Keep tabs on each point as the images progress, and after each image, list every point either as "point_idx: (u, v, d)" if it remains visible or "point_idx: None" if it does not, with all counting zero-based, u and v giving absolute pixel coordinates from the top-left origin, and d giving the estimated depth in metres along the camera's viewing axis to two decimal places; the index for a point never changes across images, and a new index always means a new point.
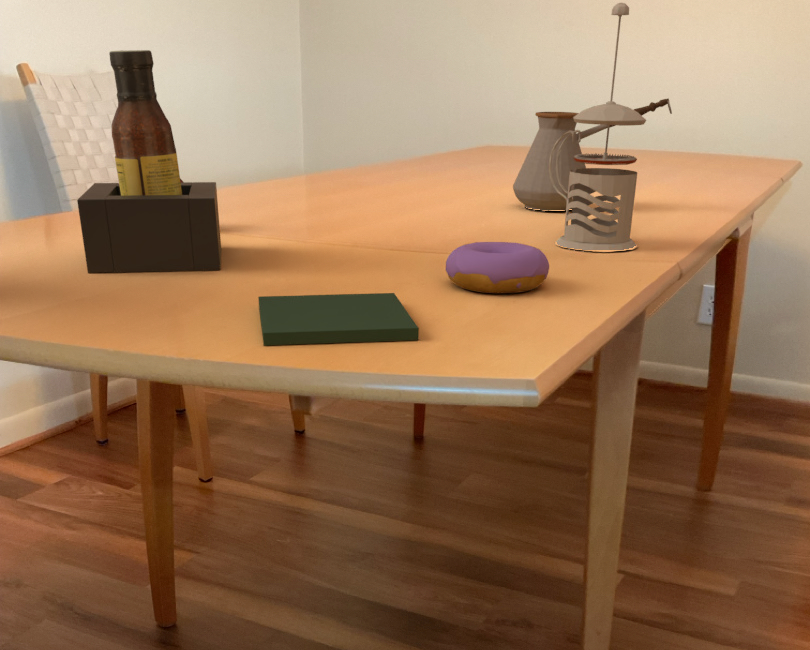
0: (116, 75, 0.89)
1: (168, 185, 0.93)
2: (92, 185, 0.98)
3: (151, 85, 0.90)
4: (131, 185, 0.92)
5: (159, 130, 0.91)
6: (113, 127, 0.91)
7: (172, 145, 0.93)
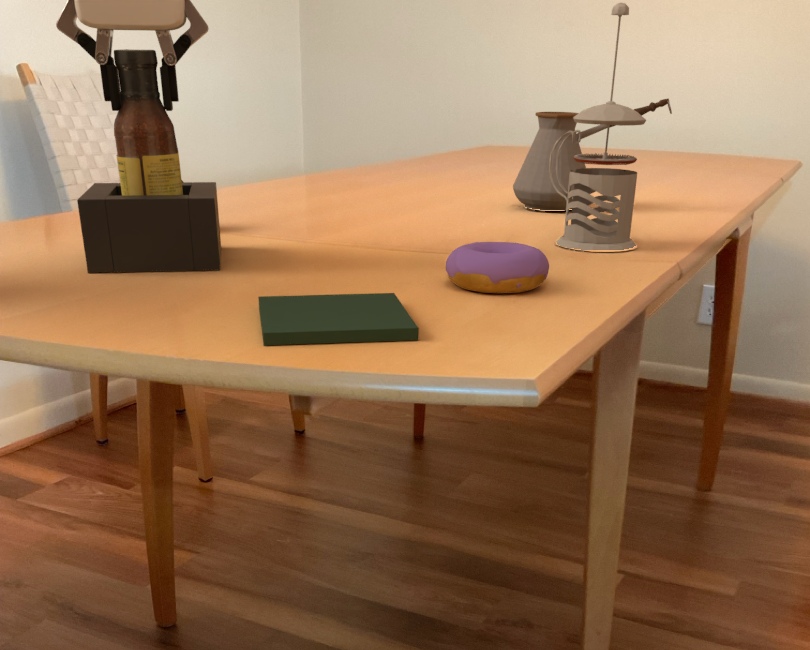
0: (120, 74, 0.89)
1: (169, 184, 0.93)
2: (92, 185, 0.98)
3: (155, 85, 0.90)
4: (132, 183, 0.92)
5: (161, 130, 0.91)
6: (116, 125, 0.91)
7: (174, 145, 0.93)
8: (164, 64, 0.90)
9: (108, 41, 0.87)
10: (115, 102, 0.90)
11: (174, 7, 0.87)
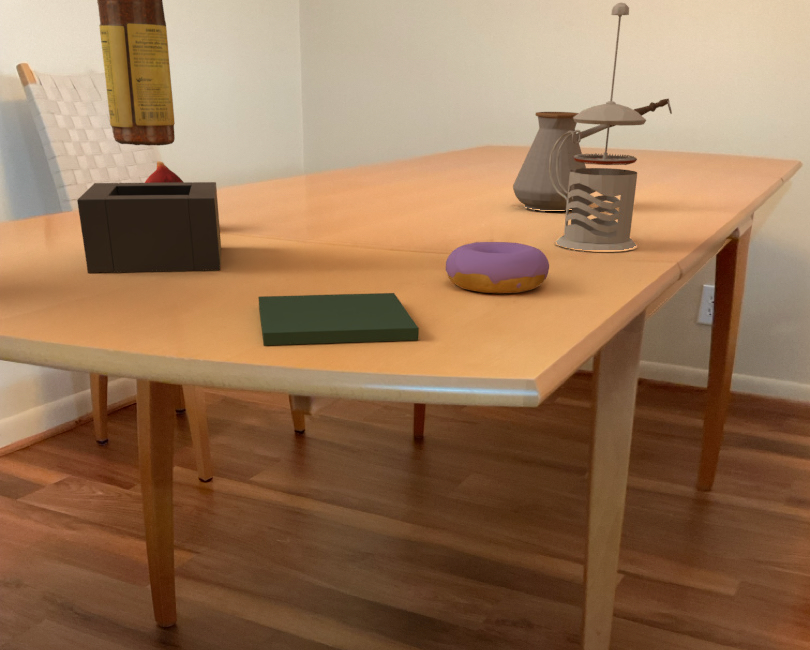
0: None
1: (156, 58, 0.87)
2: (92, 185, 0.98)
3: None
4: (115, 55, 0.86)
5: None
6: None
7: (162, 16, 0.87)
8: None
9: None
10: None
11: None
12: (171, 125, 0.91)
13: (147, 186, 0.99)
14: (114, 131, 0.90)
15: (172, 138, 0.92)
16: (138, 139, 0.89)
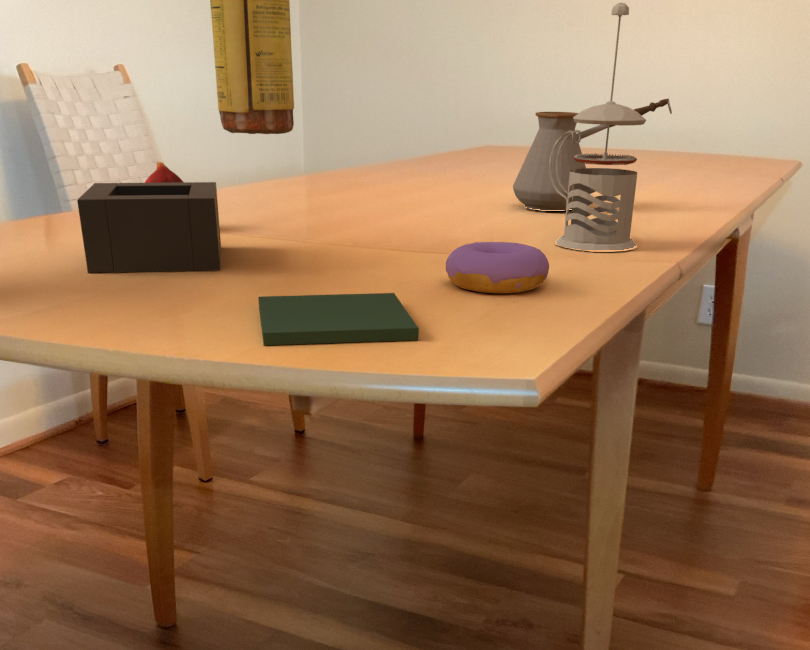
0: None
1: (278, 27, 0.71)
2: (92, 185, 0.98)
3: None
4: (231, 23, 0.70)
5: None
6: None
7: None
8: None
9: None
10: None
11: None
12: (291, 109, 0.75)
13: (147, 186, 0.99)
14: (224, 117, 0.75)
15: (292, 125, 0.76)
16: (255, 126, 0.74)
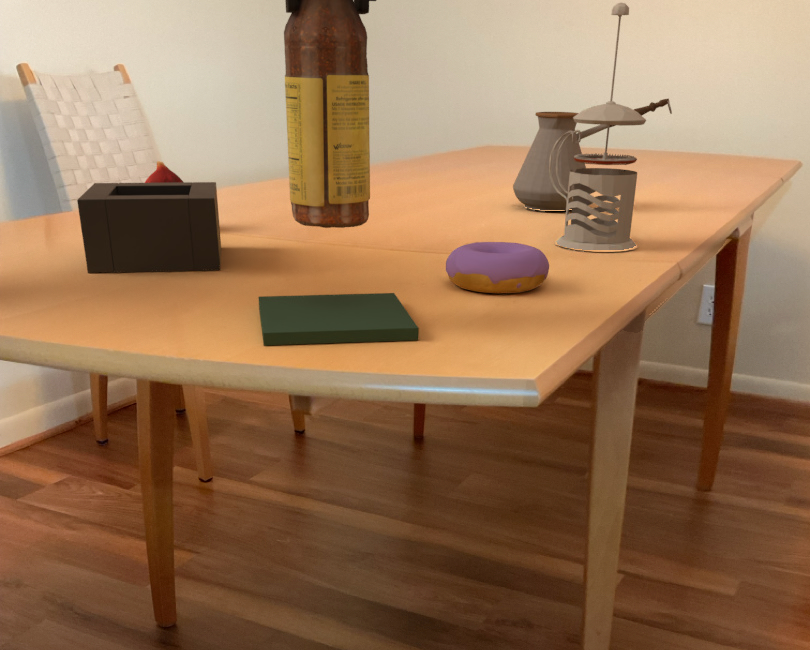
0: None
1: (358, 118, 0.67)
2: (92, 185, 0.98)
3: None
4: (309, 115, 0.66)
5: (355, 39, 0.64)
6: (290, 32, 0.64)
7: (366, 63, 0.67)
8: None
9: None
10: None
11: None
12: (367, 200, 0.71)
13: (147, 186, 0.99)
14: (296, 210, 0.70)
15: (367, 216, 0.71)
16: (330, 220, 0.69)
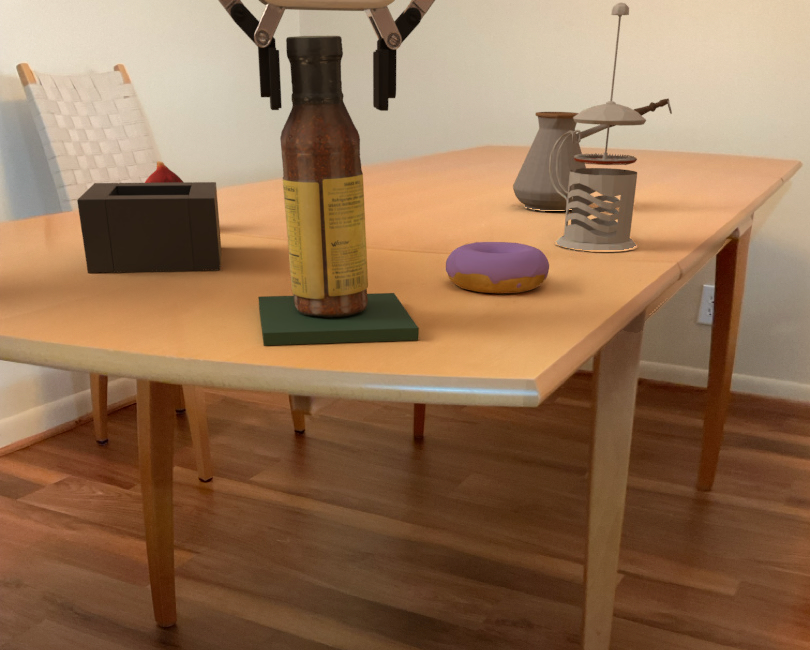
0: (295, 69, 0.66)
1: (354, 216, 0.70)
2: (92, 185, 0.98)
3: (339, 83, 0.67)
4: (306, 216, 0.69)
5: (348, 144, 0.68)
6: (286, 139, 0.68)
7: (360, 163, 0.70)
8: (383, 48, 0.66)
9: (279, 19, 0.64)
10: (277, 98, 0.66)
11: None
12: (366, 288, 0.74)
13: (147, 186, 0.99)
14: (298, 301, 0.73)
15: (366, 303, 0.75)
16: (330, 311, 0.72)
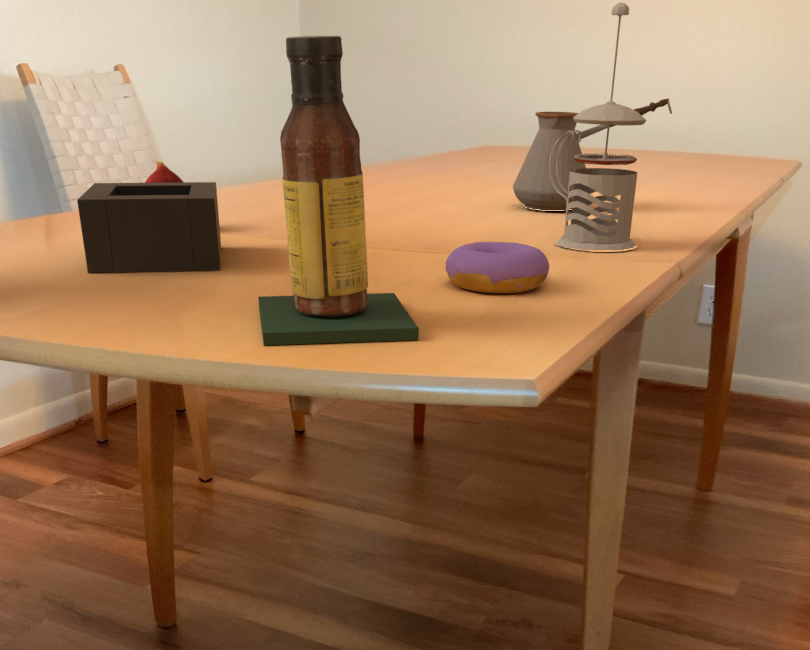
0: (295, 69, 0.66)
1: (354, 216, 0.70)
2: (92, 185, 0.98)
3: (339, 83, 0.67)
4: (306, 216, 0.69)
5: (348, 144, 0.68)
6: (286, 139, 0.68)
7: (360, 163, 0.70)
8: None
9: None
10: None
11: None
12: (366, 288, 0.74)
13: (147, 186, 0.99)
14: (298, 301, 0.73)
15: (366, 303, 0.75)
16: (330, 311, 0.72)
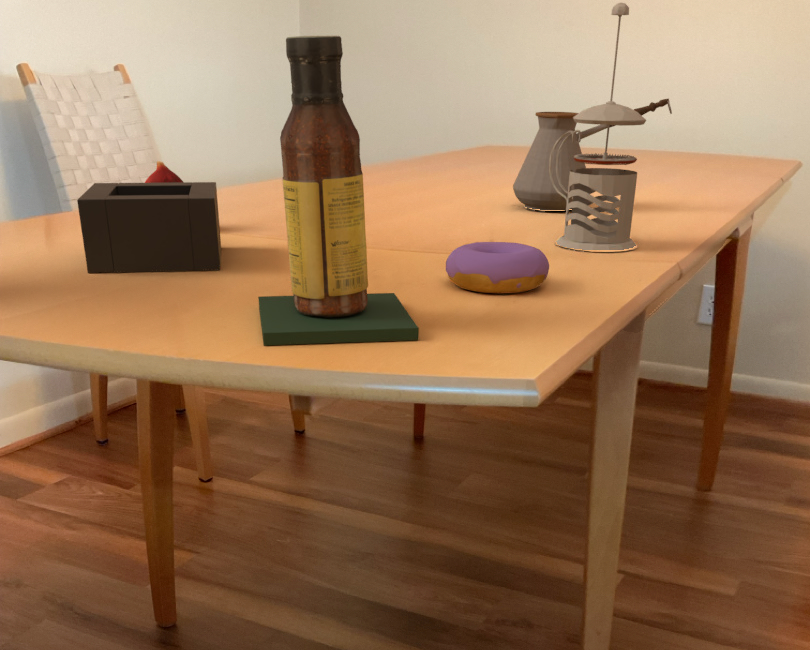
0: (295, 69, 0.66)
1: (354, 216, 0.70)
2: (92, 185, 0.98)
3: (339, 83, 0.67)
4: (306, 216, 0.69)
5: (348, 144, 0.68)
6: (286, 139, 0.68)
7: (360, 163, 0.70)
8: None
9: None
10: None
11: None
12: (366, 288, 0.74)
13: (147, 186, 0.99)
14: (298, 301, 0.73)
15: (366, 303, 0.75)
16: (330, 311, 0.72)
